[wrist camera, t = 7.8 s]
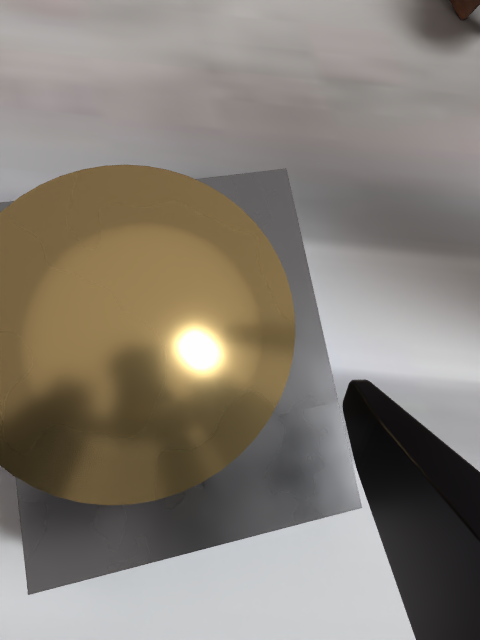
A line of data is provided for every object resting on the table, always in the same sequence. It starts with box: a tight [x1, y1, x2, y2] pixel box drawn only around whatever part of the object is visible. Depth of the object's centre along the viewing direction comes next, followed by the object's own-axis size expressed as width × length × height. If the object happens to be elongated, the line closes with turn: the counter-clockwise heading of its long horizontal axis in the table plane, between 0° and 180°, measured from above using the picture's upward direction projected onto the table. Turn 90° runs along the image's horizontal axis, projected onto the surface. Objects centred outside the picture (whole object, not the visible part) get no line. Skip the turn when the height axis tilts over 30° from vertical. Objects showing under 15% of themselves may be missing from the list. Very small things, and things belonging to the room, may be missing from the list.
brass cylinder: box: [0, 165, 295, 505], centre depth 11 cm, size 5×5×12 cm
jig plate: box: [0, 169, 362, 595], centre depth 15 cm, size 14×12×3 cm
